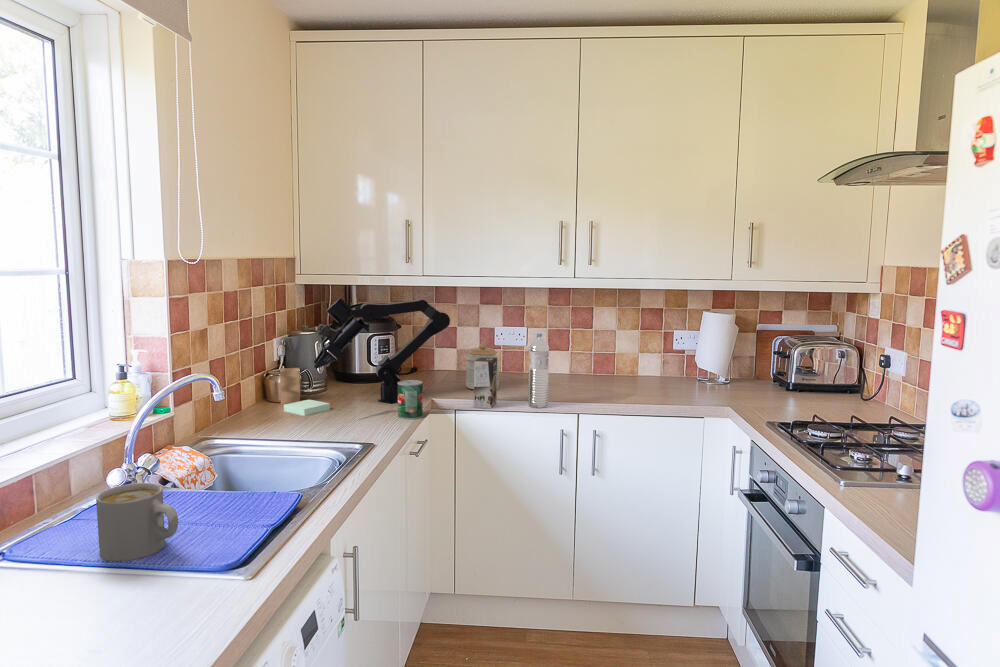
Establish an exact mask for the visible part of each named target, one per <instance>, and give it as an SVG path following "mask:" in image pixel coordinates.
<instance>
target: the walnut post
mask: <svg viewBox="0 0 1000 667" xmlns="http://www.w3.org/2000/svg"><path fill="white" fill-rule="evenodd" d="M279 375H280V376H279V380H280V382H279V383H280V405H281V406H284V405H285V404H290V403H295V402H299V401H301V390H300V389H301V388H300V387H301V381H300V367H285V368H283V367H282V368H281V367H280V370H279Z"/></svg>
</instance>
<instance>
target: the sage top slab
mask: <svg viewBox="0 0 1000 667" xmlns="http://www.w3.org/2000/svg"><path fill="white" fill-rule="evenodd" d="M330 405H331V403H328V402H325V401H320V400H313V399H306V400H300V401H299V402H295V403H290V404H285V405H283V411H286V412H285V413H287V412H291V413H295V414H294V415H296V414H300V415H304V416H303V417H306V416H305V415H307V416H310V415H309V414H311V415H314V414H313V413H315V414H319V413H318V412H320V413H323V412H322V411H324V412H327V411H326V410H328V411H331V410H330V409H331V408H330V407H331V406H330ZM291 413H290V414H291ZM300 415H299V416H300Z"/></svg>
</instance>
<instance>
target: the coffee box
mask: <svg viewBox="0 0 1000 667" xmlns="http://www.w3.org/2000/svg"><path fill="white" fill-rule="evenodd" d="M497 393H498V392H497V358H488V357H486V358H482V357H480V358H478V359H477V360H475V361H474V390H473V408H478V409H492V408H493V407H494V406H495V405H496V404H497V399H498V398H497V397H498V396H497Z"/></svg>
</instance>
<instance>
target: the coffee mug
mask: <svg viewBox="0 0 1000 667" xmlns="http://www.w3.org/2000/svg"><path fill="white" fill-rule="evenodd" d="M163 494H164V493H163V487H162V485H160V484H157V483H153V482H135V483H128V484H127V483H126V484H122V485H117V486H114V487H110V488H108V489H106V490H104V491H101V492H100V493H98V495H97V496H96V499H95V502H96V503H95V504H96V519H97V530H98V532H97V533H98V545H99V546H98V548H99V549H98V550H99V551H98V552H99V557H100V558H101V559H103V560H105V561H108V562H126V561H127V562H128V561H135V560H138V559H143V558H145V557H149V556H151V555H154V554H156V553H157V552H158V551H160V550H162V549H163V547H165V545H166V540H167V539H169V538H171V537H173V536H174V535H175V534H176V532H177V531H178V527H179V517H178V512H177V510H176V508H175V507H173V506H172V505H170V504H169V503H168V504H167V503H164V495H163ZM165 516H166V518H167V522H168V523H167V524H168V525H167V528H166V527H165Z"/></svg>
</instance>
